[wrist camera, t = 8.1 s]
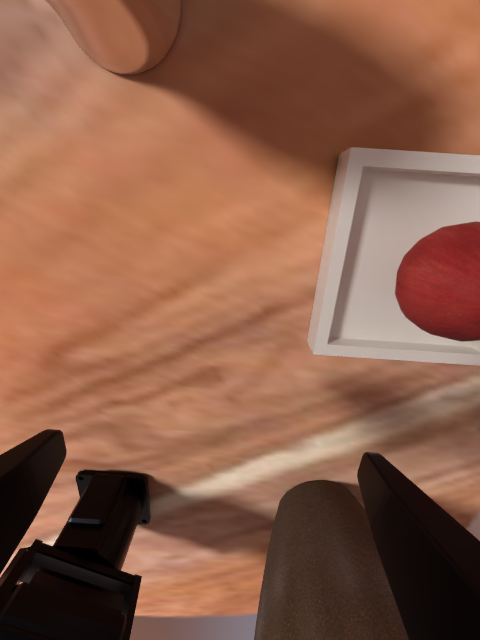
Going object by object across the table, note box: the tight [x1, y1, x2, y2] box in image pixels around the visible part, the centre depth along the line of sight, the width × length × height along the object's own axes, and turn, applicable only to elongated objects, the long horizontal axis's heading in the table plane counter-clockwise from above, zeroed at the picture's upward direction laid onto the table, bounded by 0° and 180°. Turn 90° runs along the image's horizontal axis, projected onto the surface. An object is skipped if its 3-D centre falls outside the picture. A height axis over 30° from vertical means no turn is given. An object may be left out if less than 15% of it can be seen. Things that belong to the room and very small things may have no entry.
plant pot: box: [254, 481, 409, 640], centre depth 20 cm, size 15×15×16 cm
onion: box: [395, 221, 480, 342], centre depth 14 cm, size 6×6×8 cm
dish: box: [307, 147, 480, 365], centre depth 17 cm, size 12×12×2 cm
